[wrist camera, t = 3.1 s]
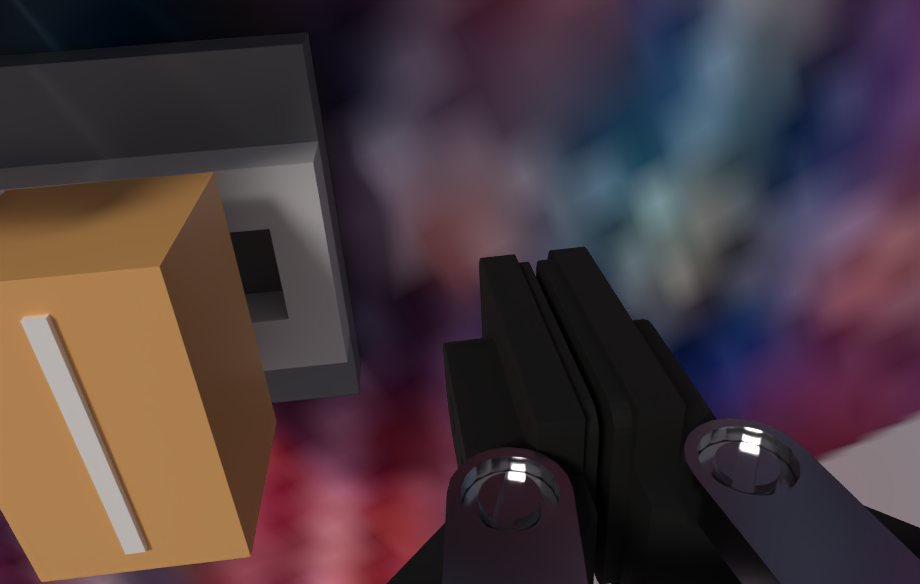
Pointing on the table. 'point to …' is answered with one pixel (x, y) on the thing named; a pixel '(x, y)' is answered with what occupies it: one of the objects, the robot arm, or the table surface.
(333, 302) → the fader board
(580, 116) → the table surface
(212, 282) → the fader knob
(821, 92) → the table surface
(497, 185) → the table surface
